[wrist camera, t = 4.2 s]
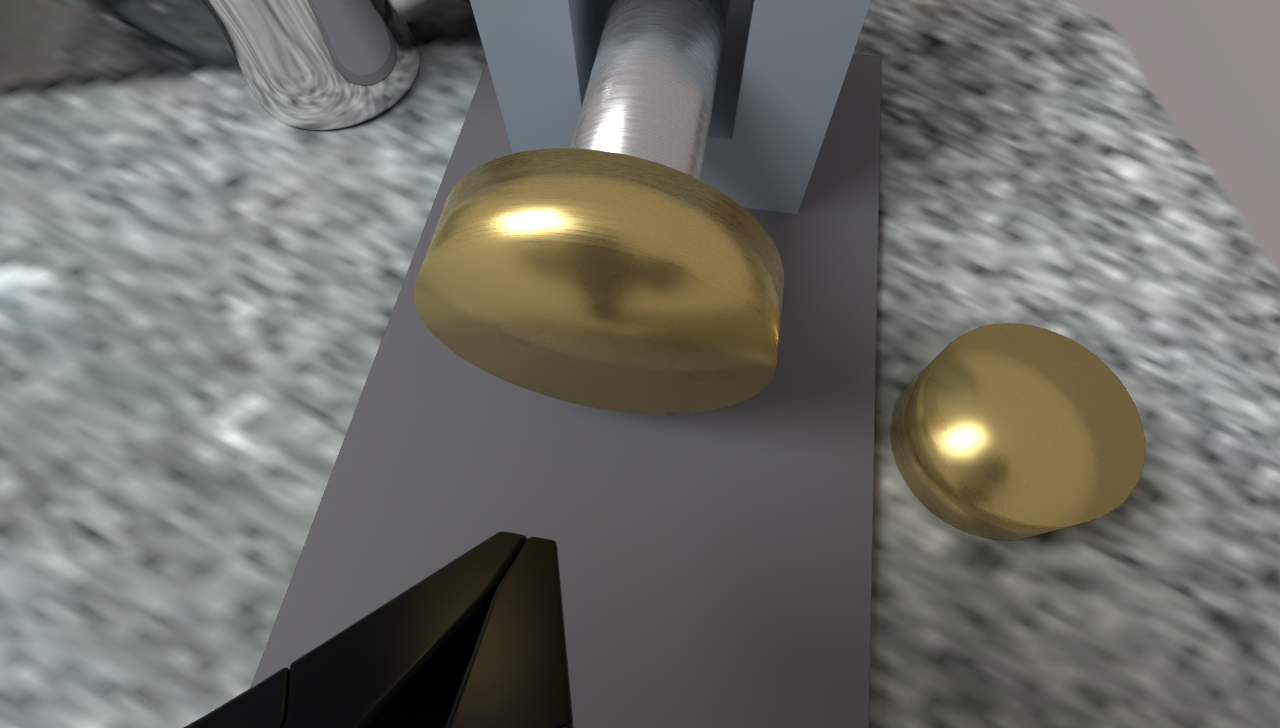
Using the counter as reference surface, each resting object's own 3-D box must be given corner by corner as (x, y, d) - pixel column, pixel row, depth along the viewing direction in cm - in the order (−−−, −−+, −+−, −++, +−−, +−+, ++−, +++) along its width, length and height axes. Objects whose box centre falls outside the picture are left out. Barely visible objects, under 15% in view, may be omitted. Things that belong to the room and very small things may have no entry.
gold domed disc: (1117, 475, 17) (1192, 449, 14) (979, 579, 16) (1036, 569, 13) (983, 334, 18) (1031, 291, 16) (851, 419, 17) (882, 385, 15)
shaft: (747, 431, 15) (819, 278, 9) (469, 388, 16) (346, 213, 9) (791, 16, 21) (853, -257, 15) (589, -5, 22) (563, -275, 15)
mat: (859, 876, 13) (865, 881, 13) (239, 743, 14) (228, 746, 14) (877, 66, 23) (881, 56, 22) (506, 26, 24) (504, 16, 23)
